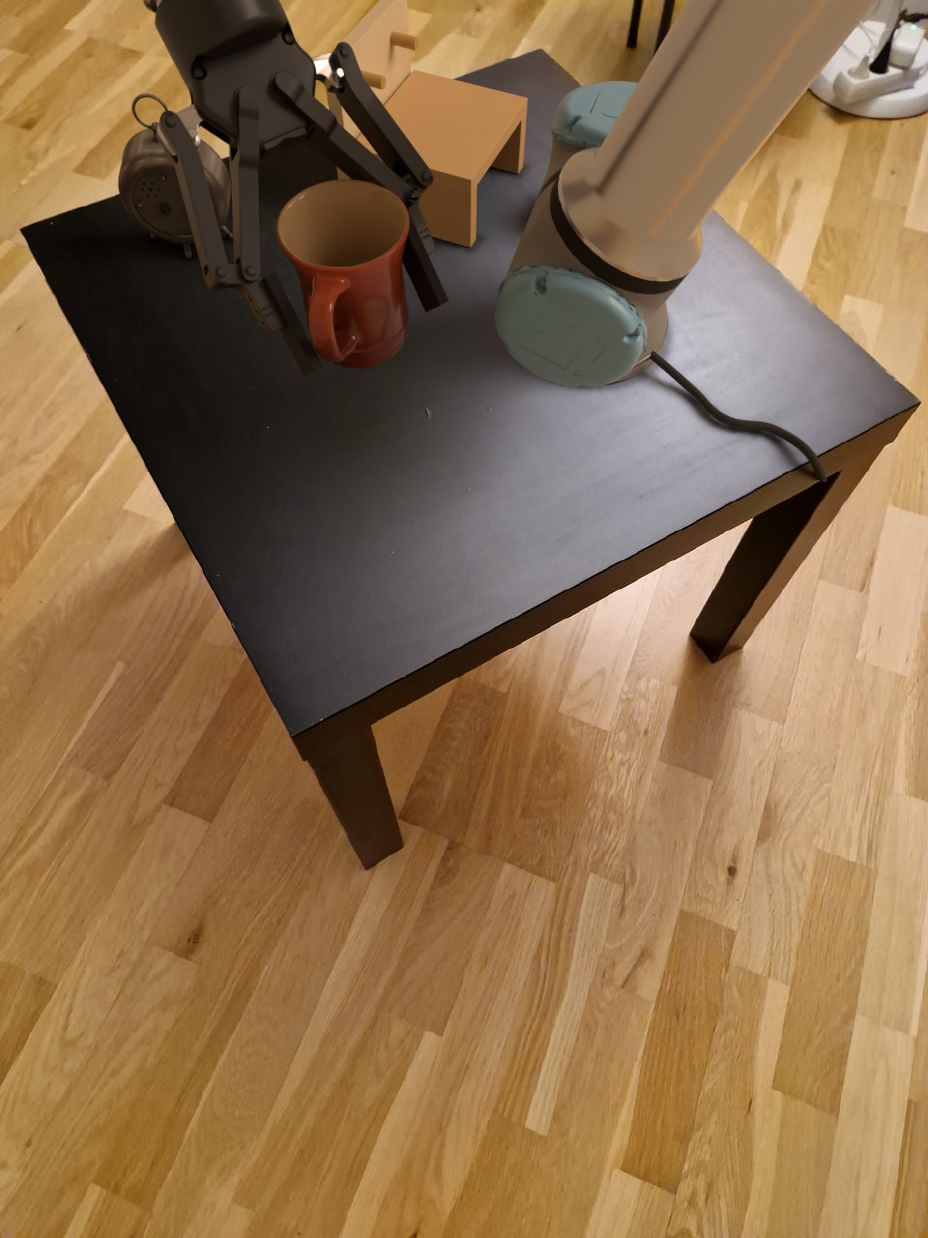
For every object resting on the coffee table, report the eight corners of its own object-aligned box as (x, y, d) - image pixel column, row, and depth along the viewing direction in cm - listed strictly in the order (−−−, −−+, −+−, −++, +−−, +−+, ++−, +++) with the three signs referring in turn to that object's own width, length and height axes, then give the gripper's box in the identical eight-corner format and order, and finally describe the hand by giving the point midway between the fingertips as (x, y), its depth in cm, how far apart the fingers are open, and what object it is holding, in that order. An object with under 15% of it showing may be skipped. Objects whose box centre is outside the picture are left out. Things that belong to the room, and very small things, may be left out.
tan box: (523, 166, 99) (533, 17, 85) (470, 247, 92) (472, 99, 78) (402, 134, 102) (393, -16, 88) (342, 210, 95) (321, 61, 81)
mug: (321, 292, 65) (296, 172, 56) (429, 305, 65) (421, 185, 55) (279, 408, 60) (244, 296, 51) (396, 424, 59) (382, 313, 50)
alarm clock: (244, 228, 93) (205, 76, 79) (239, 260, 91) (198, 109, 76) (147, 230, 93) (90, 78, 79) (139, 262, 90) (79, 111, 76)
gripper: (341, -34, 57) (479, 283, 64) (32, 78, 50) (227, 416, 58) (378, -102, 50) (527, 261, 58) (27, 17, 43) (249, 408, 51)
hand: (377, 338), depth 58 cm, fingers closed on mug, 10 cm apart
